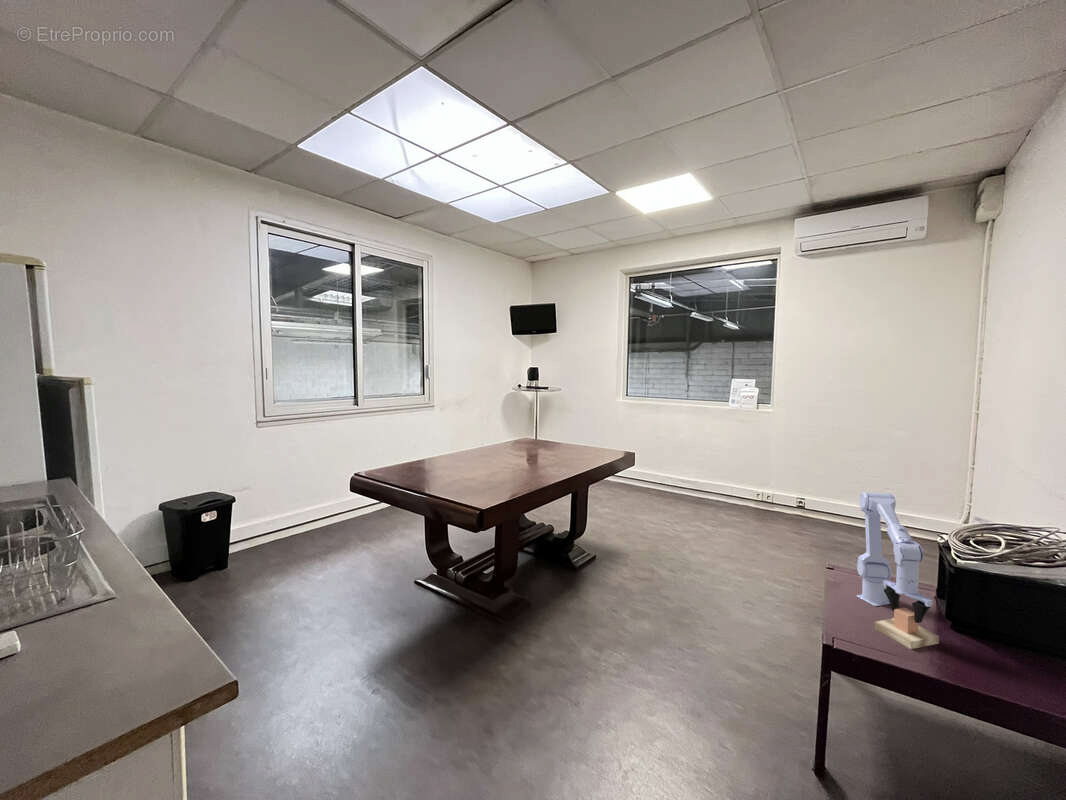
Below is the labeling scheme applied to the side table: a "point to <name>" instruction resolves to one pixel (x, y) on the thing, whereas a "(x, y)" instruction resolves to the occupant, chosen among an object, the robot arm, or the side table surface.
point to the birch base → (907, 635)
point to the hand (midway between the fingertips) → (906, 615)
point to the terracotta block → (905, 620)
